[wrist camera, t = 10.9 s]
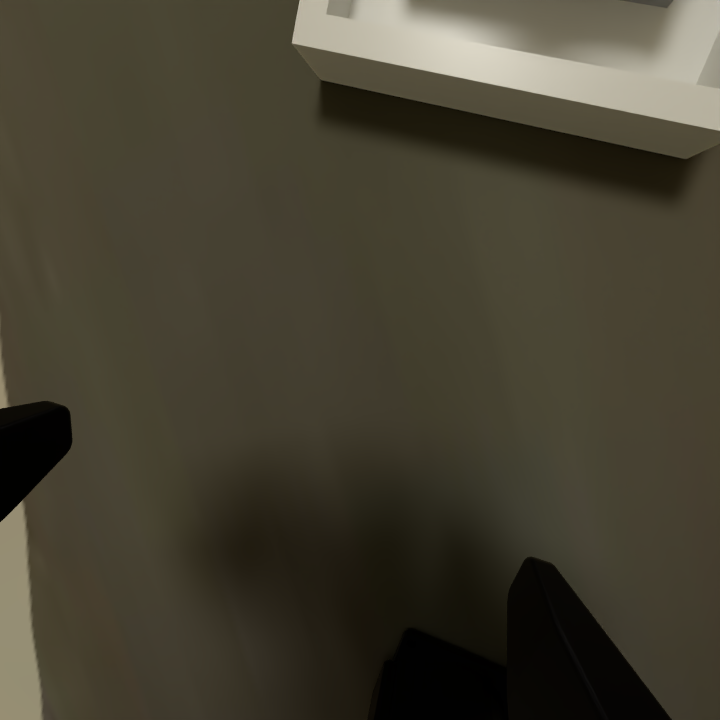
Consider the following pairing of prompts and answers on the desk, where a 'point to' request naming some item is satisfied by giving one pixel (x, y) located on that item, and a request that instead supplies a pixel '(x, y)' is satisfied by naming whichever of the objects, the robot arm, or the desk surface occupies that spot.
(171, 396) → the desk surface
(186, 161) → the desk surface
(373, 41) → the housing
